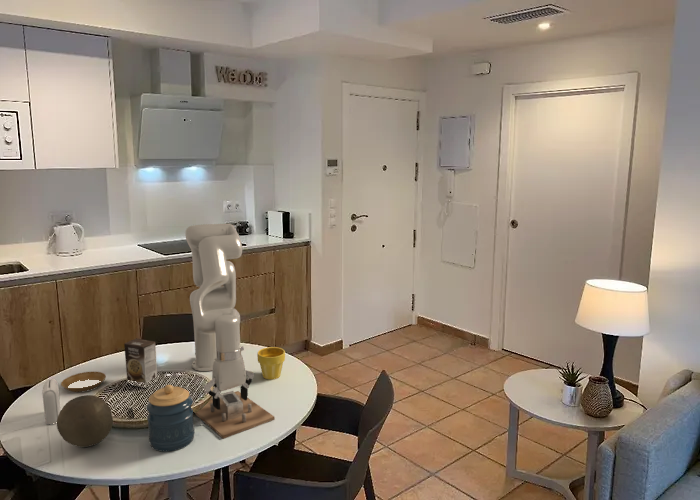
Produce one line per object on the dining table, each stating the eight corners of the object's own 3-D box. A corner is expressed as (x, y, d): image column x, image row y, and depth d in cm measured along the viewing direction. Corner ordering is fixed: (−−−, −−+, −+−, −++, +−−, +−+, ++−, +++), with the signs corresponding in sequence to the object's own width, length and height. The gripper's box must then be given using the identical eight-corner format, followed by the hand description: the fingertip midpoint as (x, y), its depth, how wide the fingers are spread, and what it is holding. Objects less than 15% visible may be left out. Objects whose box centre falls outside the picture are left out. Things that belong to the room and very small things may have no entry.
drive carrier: (219, 406, 179) (218, 393, 178) (233, 403, 181) (233, 390, 180) (228, 419, 170) (227, 406, 169) (243, 416, 173) (242, 402, 172)
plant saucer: (51, 392, 192) (51, 385, 192) (83, 375, 206) (82, 369, 206) (85, 397, 188) (84, 390, 188) (115, 380, 202) (114, 374, 201)
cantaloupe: (79, 431, 165) (74, 386, 162) (123, 434, 164) (119, 388, 161) (49, 457, 151) (44, 408, 149) (97, 460, 150) (92, 411, 147)
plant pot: (288, 379, 202) (288, 354, 200) (261, 383, 198) (260, 358, 197) (281, 368, 212) (281, 345, 210) (255, 372, 208) (254, 348, 206)
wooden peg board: (189, 409, 179) (189, 399, 179) (238, 393, 191) (237, 384, 190) (223, 438, 161) (222, 428, 161) (274, 419, 173) (274, 409, 172)
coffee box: (126, 385, 197) (123, 343, 194) (139, 378, 203) (136, 337, 200) (146, 389, 194) (142, 346, 191) (158, 382, 200) (155, 340, 197)
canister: (195, 448, 156) (191, 391, 153) (147, 455, 152) (143, 397, 149) (194, 426, 168) (191, 373, 165) (150, 432, 165) (146, 378, 161)
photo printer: (46, 412, 177) (42, 376, 175) (61, 409, 179) (57, 374, 177) (44, 426, 168) (40, 389, 166) (60, 423, 170) (56, 386, 168)
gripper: (246, 344, 180) (248, 391, 183) (197, 356, 169) (200, 407, 173) (258, 350, 175) (259, 399, 178) (208, 364, 164) (211, 416, 167)
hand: (230, 403), depth 175 cm, fingers open, 9 cm apart
